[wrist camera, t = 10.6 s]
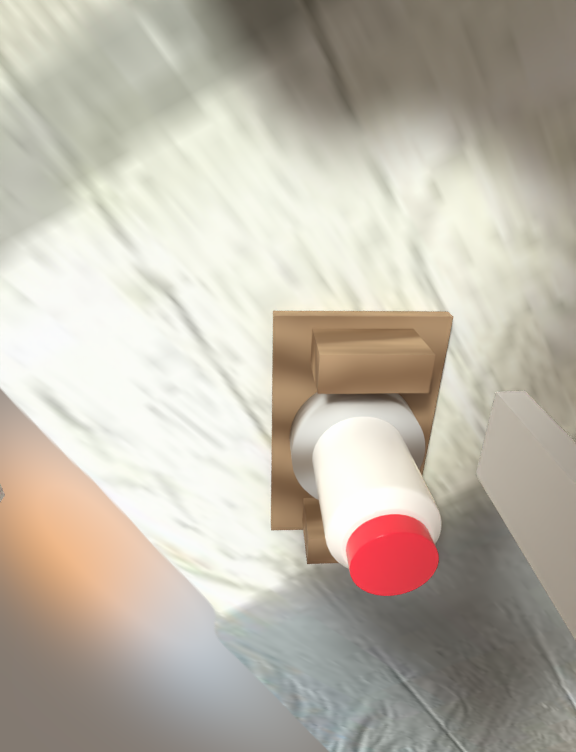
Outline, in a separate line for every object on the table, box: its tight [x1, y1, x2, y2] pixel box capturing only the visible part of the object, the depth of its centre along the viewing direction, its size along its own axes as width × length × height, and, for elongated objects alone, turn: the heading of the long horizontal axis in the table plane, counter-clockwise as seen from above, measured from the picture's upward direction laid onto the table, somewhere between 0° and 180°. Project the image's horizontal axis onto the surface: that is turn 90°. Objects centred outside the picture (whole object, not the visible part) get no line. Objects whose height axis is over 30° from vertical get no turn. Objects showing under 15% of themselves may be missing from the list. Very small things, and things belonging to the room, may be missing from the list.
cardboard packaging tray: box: [271, 311, 453, 564], centre depth 39 cm, size 22×14×6 cm, turn 179°
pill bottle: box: [312, 416, 442, 596], centre depth 33 cm, size 8×8×11 cm
